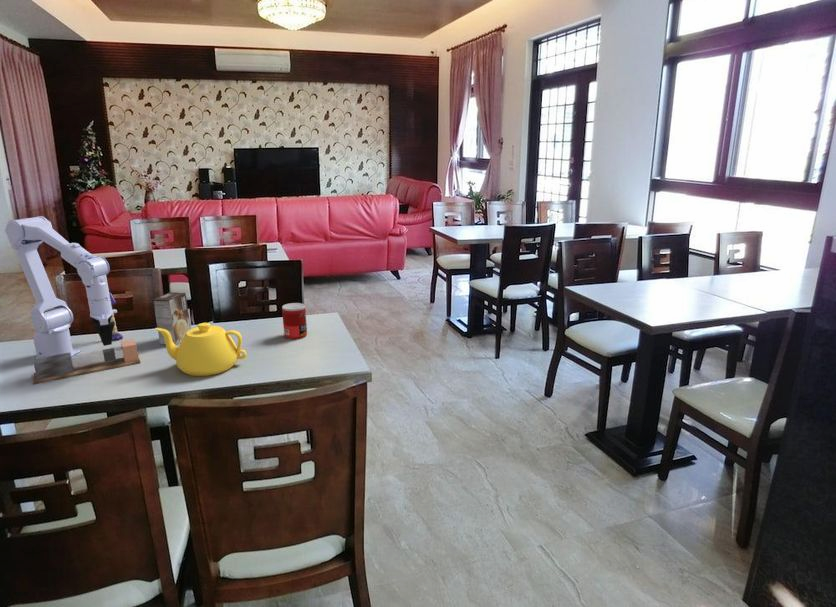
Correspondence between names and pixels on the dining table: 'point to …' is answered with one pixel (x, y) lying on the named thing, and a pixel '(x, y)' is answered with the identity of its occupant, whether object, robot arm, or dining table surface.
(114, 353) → the grey banded bar
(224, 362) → the teapot
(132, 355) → the peach-orange block
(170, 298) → the coffee box
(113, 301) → the toy lamp
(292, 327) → the canned food
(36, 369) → the brown wooden bar
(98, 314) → the robot arm
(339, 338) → the dining table surface
